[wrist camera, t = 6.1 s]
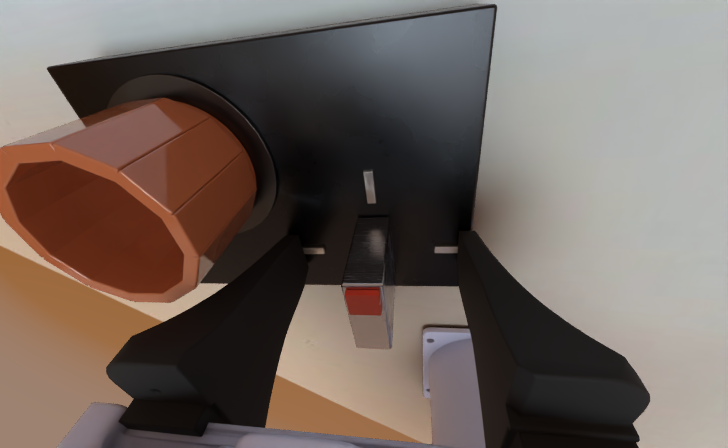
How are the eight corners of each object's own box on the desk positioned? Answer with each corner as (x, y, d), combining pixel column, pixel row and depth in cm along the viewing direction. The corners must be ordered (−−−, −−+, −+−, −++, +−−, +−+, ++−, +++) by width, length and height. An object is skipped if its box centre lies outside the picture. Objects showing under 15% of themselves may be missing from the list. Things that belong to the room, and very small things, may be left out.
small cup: (277, 221, 13) (227, 304, 10) (167, 224, 14) (84, 301, 10) (229, 87, 10) (126, 135, 6) (92, 102, 11) (-66, 152, 7)
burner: (296, 230, 14) (295, 233, 13) (165, 233, 15) (162, 235, 15) (243, 62, 10) (240, 63, 9) (69, 83, 11) (64, 85, 11)
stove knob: (395, 277, 14) (391, 356, 11) (367, 277, 15) (355, 354, 11) (389, 215, 12) (382, 291, 9) (356, 217, 13) (338, 291, 9)
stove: (457, 270, 17) (463, 308, 15) (220, 269, 20) (197, 302, 18) (480, 3, 10) (499, 3, 8) (102, 57, 12) (39, 68, 10)
